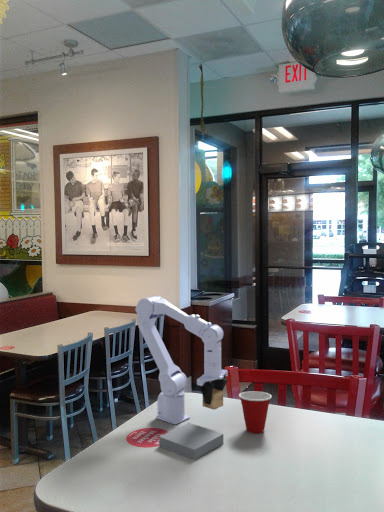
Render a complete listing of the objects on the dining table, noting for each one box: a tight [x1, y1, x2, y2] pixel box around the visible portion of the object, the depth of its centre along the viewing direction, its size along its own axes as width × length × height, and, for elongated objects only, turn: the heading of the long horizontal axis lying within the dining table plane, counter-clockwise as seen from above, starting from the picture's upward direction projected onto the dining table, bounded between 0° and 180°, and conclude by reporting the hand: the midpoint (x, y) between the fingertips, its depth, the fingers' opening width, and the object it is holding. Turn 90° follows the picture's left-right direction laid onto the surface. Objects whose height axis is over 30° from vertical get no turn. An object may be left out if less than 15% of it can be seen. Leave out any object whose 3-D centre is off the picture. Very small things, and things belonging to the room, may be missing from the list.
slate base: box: [158, 422, 224, 461], centre depth 146 cm, size 14×14×3 cm
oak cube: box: [202, 388, 224, 410], centre depth 160 cm, size 5×5×5 cm
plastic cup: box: [238, 390, 273, 434], centre depth 157 cm, size 11×11×12 cm
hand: (212, 401), depth 160 cm, fingers closed on oak cube, 5 cm apart
